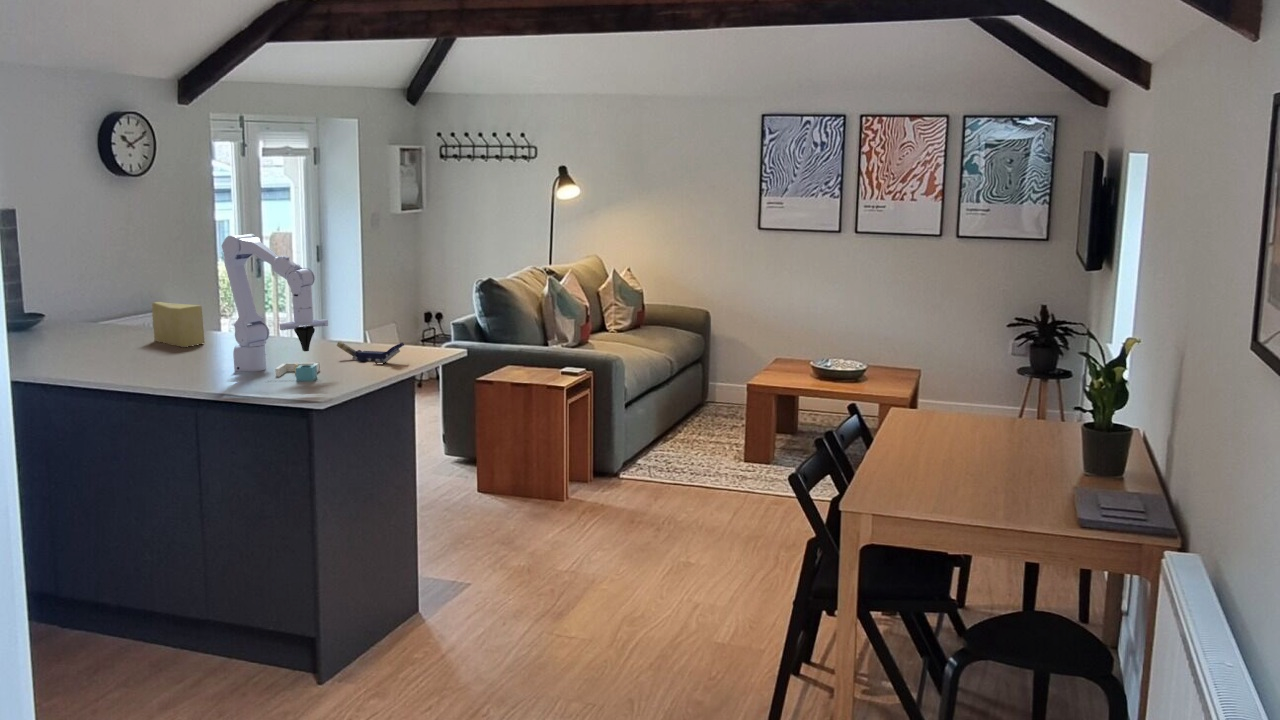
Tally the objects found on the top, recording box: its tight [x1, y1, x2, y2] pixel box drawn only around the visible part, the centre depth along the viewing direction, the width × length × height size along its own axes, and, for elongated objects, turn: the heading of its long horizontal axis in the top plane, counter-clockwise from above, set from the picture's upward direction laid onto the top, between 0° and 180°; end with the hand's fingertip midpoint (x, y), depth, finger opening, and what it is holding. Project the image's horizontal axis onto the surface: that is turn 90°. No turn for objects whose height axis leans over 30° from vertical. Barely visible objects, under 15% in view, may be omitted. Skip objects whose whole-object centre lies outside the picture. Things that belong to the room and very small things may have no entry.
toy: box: [336, 340, 405, 364], centre depth 380 cm, size 10×22×10 cm, turn 78°
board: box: [264, 364, 323, 383], centre depth 360 cm, size 17×28×4 cm, turn 2°
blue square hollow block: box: [295, 365, 318, 382], centre depth 349 cm, size 5×5×4 cm
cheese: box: [151, 301, 206, 348], centre depth 418 cm, size 22×10×15 cm, turn 59°
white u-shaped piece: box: [275, 362, 321, 378], centre depth 358 cm, size 11×9×2 cm
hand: (305, 350), depth 356 cm, fingers closed
